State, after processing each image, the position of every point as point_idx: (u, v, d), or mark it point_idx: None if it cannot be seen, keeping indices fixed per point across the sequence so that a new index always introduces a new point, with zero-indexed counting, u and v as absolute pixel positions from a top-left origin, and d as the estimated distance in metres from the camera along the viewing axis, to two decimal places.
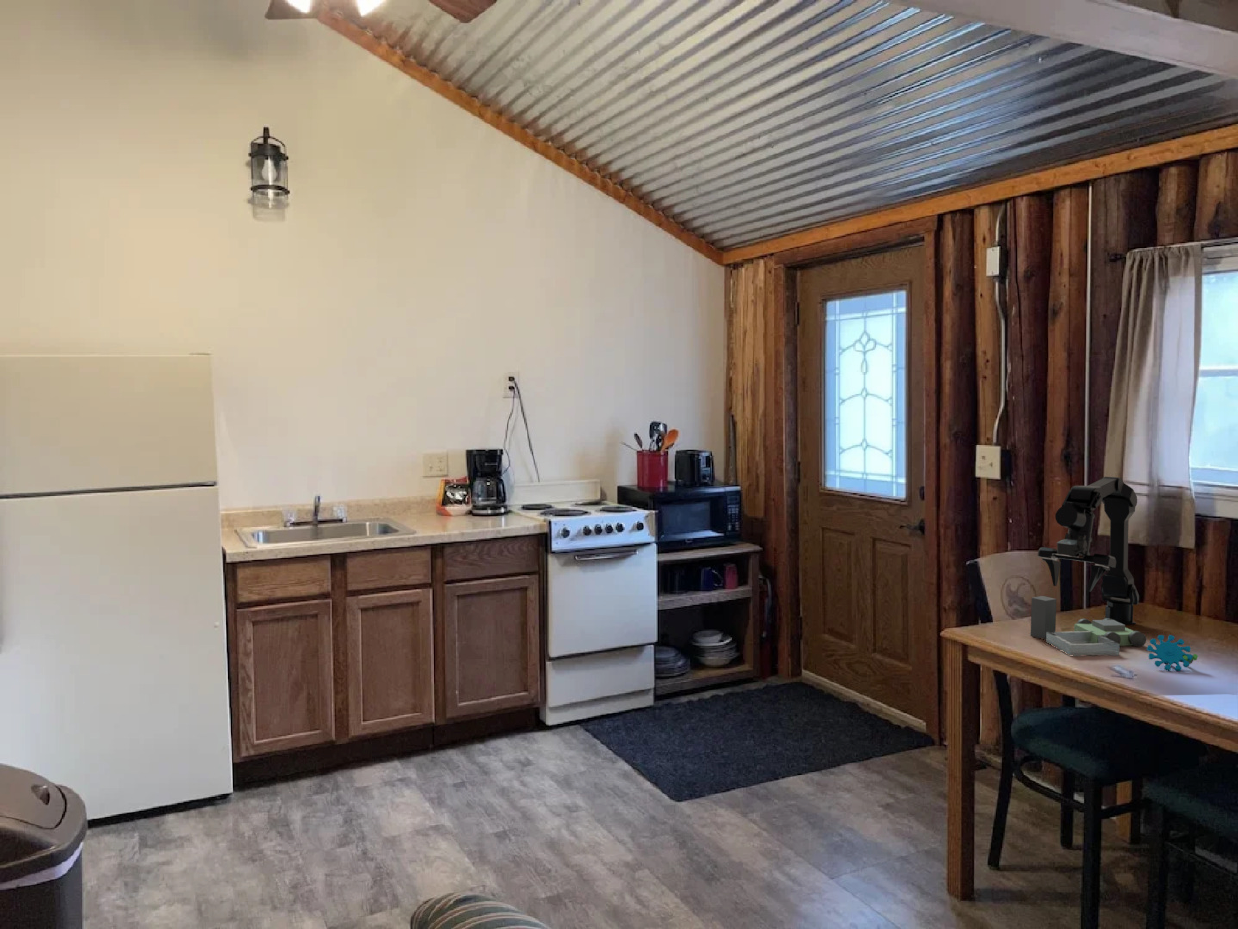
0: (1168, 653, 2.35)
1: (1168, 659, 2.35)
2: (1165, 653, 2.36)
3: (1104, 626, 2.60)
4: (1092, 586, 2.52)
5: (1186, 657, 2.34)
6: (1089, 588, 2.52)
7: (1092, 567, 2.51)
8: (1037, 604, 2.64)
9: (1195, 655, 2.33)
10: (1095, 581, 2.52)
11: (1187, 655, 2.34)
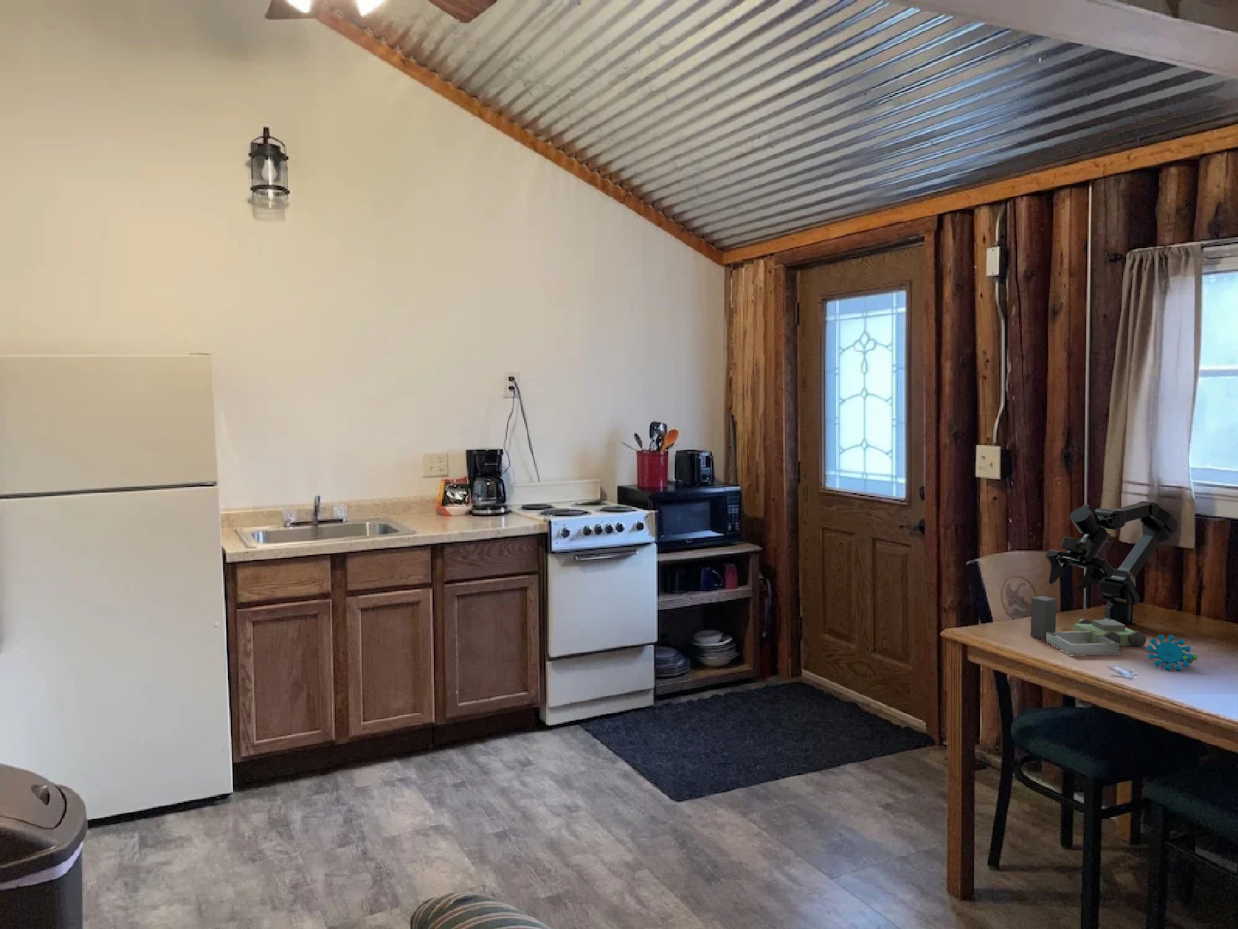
0: (1168, 653, 2.35)
1: (1168, 659, 2.35)
2: (1165, 653, 2.36)
3: (1104, 626, 2.60)
4: (1082, 585, 2.63)
5: (1186, 657, 2.34)
6: (1078, 586, 2.64)
7: (1088, 567, 2.64)
8: (1037, 604, 2.64)
9: (1195, 655, 2.34)
10: (1087, 583, 2.64)
11: (1187, 655, 2.34)
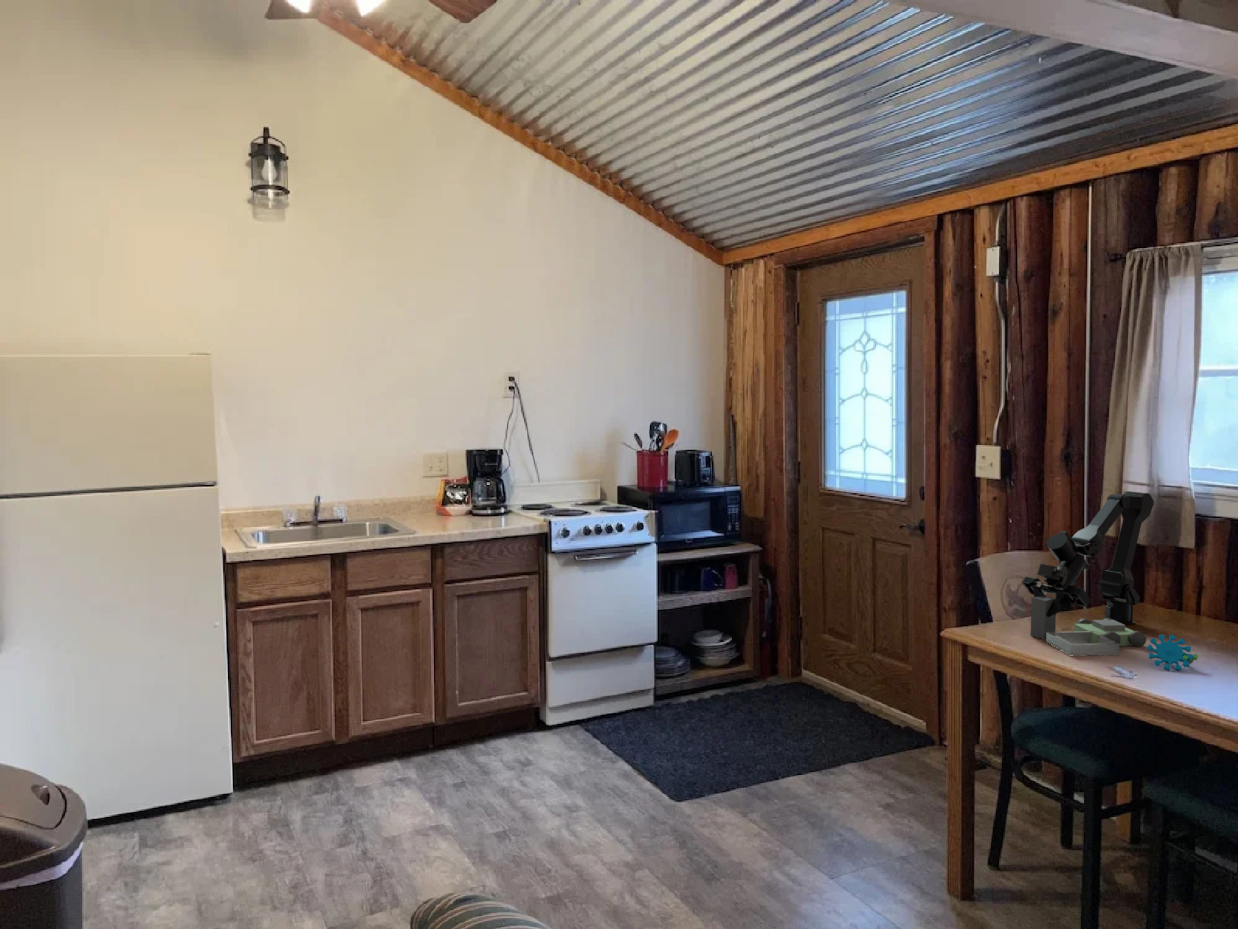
0: (1168, 653, 2.36)
1: (1168, 659, 2.35)
2: (1165, 653, 2.36)
3: (1104, 626, 2.60)
4: (1051, 612, 2.62)
5: (1186, 657, 2.34)
6: (1048, 612, 2.62)
7: (1057, 593, 2.62)
8: (1037, 604, 2.64)
9: (1195, 655, 2.34)
10: (1056, 609, 2.62)
11: (1187, 655, 2.34)
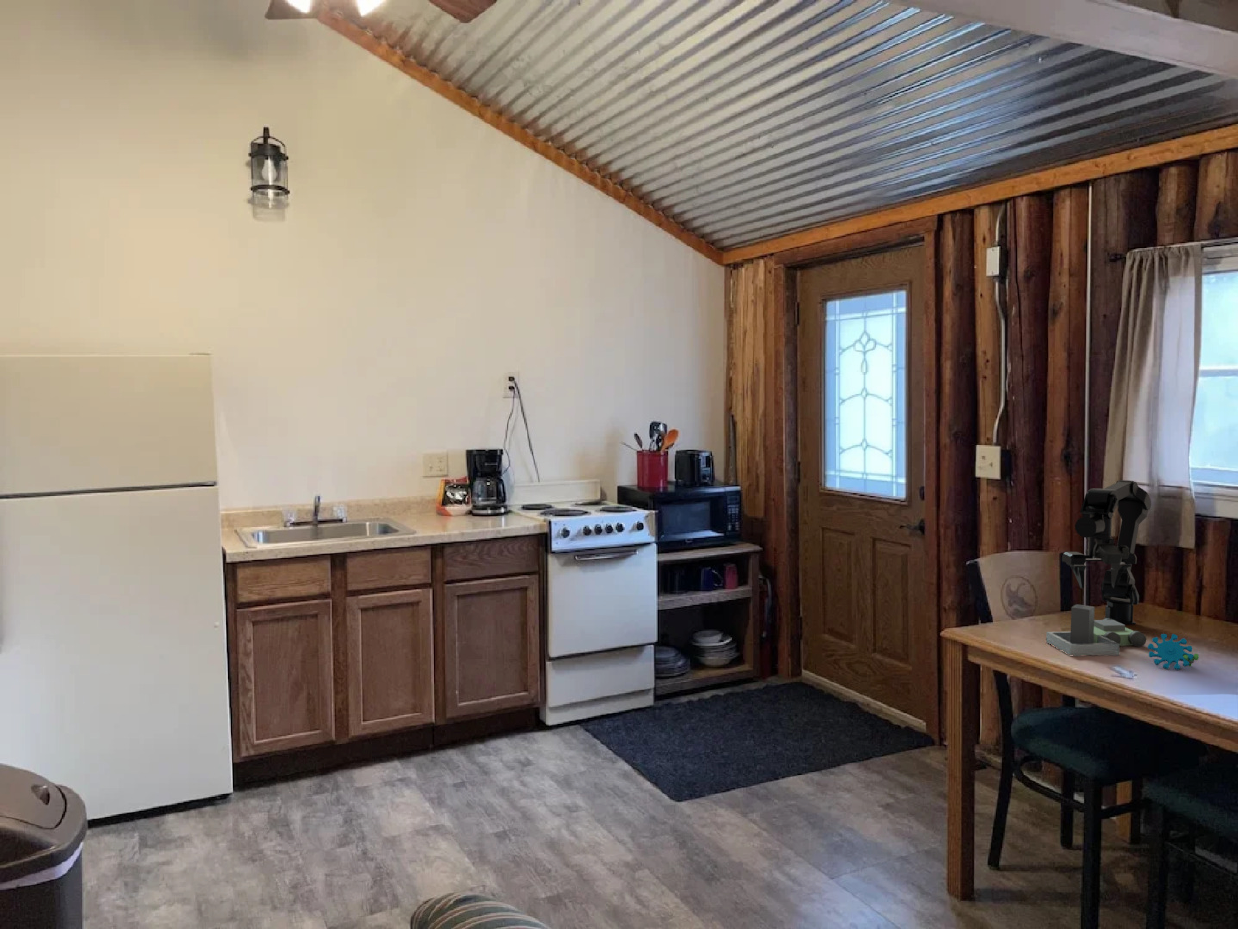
0: (1168, 652, 2.36)
1: (1168, 658, 2.36)
2: (1165, 652, 2.37)
3: (1104, 626, 2.60)
4: None
5: (1186, 656, 2.34)
6: (1115, 585, 2.67)
7: (1122, 567, 2.65)
8: (1079, 613, 2.51)
9: (1196, 655, 2.34)
10: None
11: (1188, 654, 2.34)
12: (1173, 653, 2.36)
